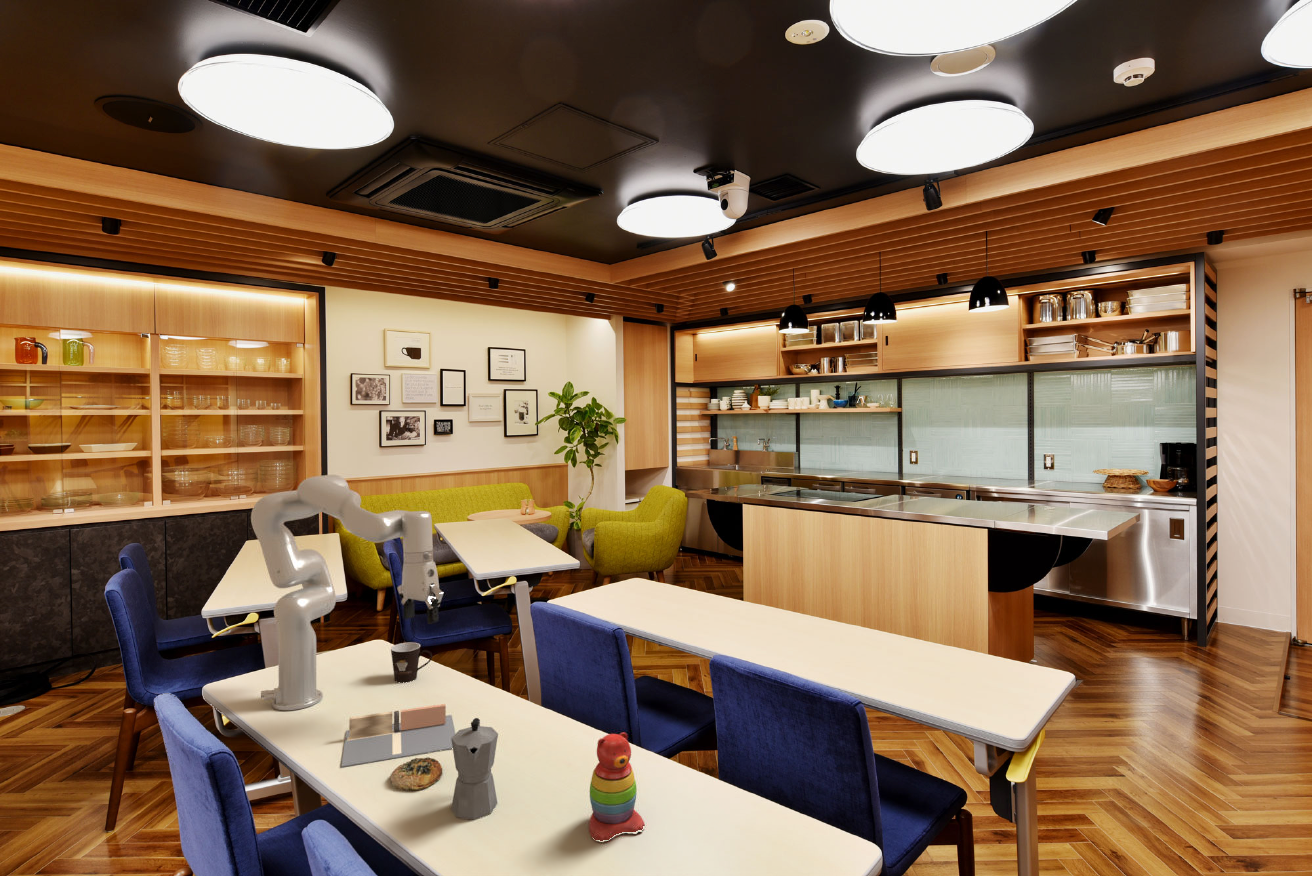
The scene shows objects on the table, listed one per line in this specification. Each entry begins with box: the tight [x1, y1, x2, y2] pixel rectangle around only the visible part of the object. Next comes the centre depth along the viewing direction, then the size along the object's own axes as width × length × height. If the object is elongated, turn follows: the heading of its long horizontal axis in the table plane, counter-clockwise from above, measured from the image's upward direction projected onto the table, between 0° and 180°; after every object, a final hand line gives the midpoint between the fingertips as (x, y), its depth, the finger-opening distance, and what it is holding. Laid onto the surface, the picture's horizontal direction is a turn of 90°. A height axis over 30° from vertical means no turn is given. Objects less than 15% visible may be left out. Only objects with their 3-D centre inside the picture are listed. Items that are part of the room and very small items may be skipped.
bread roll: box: [390, 756, 443, 791], centre depth 148 cm, size 11×11×5 cm
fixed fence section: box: [348, 710, 400, 740], centre depth 168 cm, size 12×1×5 cm, turn 112°
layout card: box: [340, 714, 456, 768], centre depth 166 cm, size 26×19×1 cm
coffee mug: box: [390, 642, 433, 684], centre depth 205 cm, size 12×9×10 cm
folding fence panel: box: [400, 703, 447, 731], centre depth 173 cm, size 11×1×5 cm, turn 112°
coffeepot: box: [451, 717, 499, 820], centre depth 139 cm, size 15×9×18 cm, turn 13°
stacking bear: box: [588, 732, 646, 841], centre depth 132 cm, size 11×10×18 cm
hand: (421, 620), depth 179 cm, fingers open, 9 cm apart
